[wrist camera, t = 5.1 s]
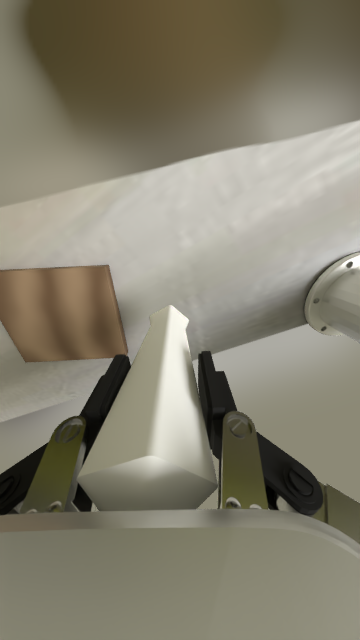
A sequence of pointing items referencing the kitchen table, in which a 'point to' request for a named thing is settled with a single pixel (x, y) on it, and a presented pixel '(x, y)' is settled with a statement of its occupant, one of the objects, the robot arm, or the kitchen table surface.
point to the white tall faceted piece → (153, 431)
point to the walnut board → (62, 313)
